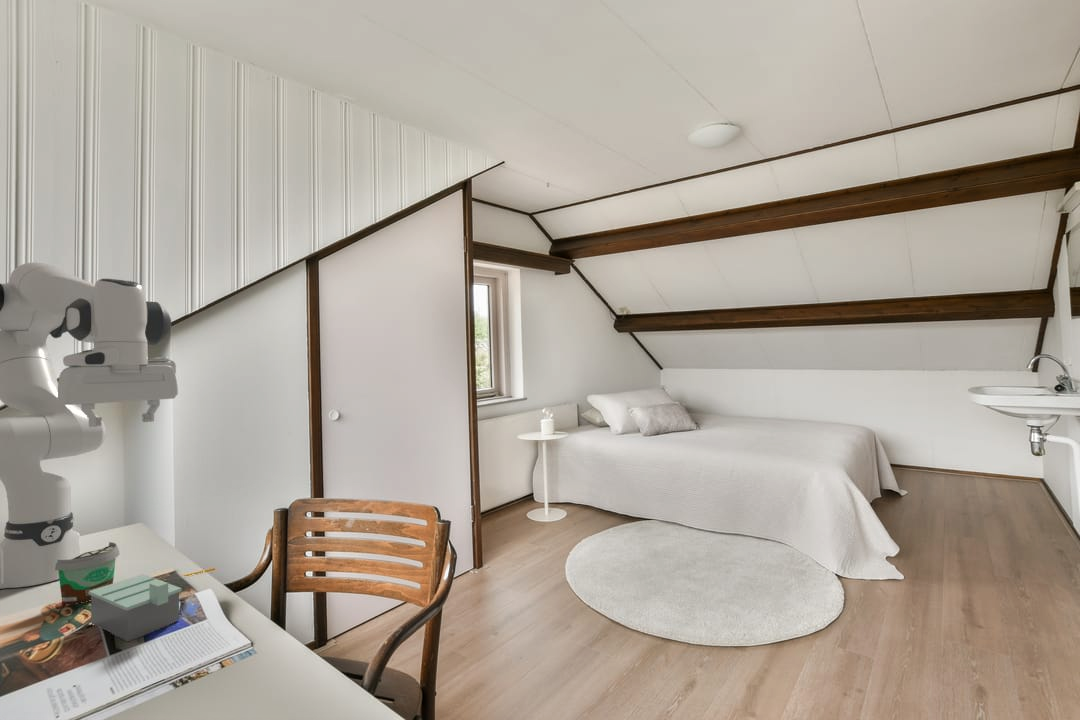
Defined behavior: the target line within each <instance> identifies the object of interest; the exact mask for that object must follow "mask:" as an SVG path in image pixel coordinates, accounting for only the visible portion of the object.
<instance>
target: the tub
mask: <svg viewBox="0 0 1080 720" xmlns="http://www.w3.org/2000/svg"><path fill="white" fill-rule="evenodd" d="M90 608H91V611H90V613H91V614H90V615H91V617H90V623H92V624H94V625H96V626H98V627H100V628H102V629H104V630H107V631H108V632H111V633H112V634H111V633H110V634H111V635H113V634H114V635H113V636H115V635H116V636H115V637H117V636H118V637H117V638H119V637H120V638H119V639H121V638H122V639H121V640H123V639H124V640H123V641H125V640H126V641H125V642H127V641H129V642H131V641H133V639H134V640H135V639H138V638H141V637H144V636H146V635H149V634H150V633H153V632H156V631H158V630H161V629H163V628H165V626H166V627H169V626H170V625H169V624H171V625H173V624H174V623H173V622H176V621H177V620H179V621H180V592H178V593H175V594H172V595H169V596H168V602H167V603H164V604H161V605H155V604H153V603H147V604H144V605H141V606H139V607H136V608H133V609H130V610H127V611H126V610H124V609H121V608H119V607H117V606H115V605H112V604H110V603H108V602H105V601H103V600H101V599H99V598H96V597H94V596H92V595H91V602H90ZM172 623H173V624H172ZM176 623H177V622H176ZM92 624H91V625H92ZM94 625H93V626H94ZM96 626H95V627H96ZM98 627H97V628H98ZM162 627H163V628H162ZM100 628H99V629H100ZM160 628H161V629H160ZM102 629H101V630H102ZM104 630H103V631H104ZM155 630H156V631H155ZM108 632H107V633H108ZM130 640H131V641H130Z"/></svg>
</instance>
